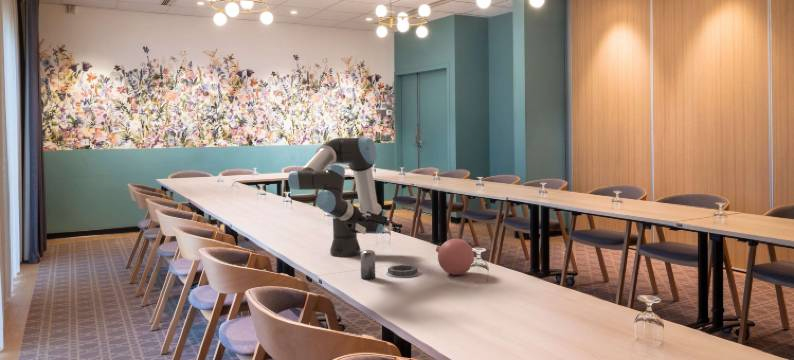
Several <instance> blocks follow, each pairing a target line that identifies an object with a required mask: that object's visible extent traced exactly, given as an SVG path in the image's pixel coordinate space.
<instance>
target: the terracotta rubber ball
mask: <svg viewBox="0 0 794 360" xmlns="http://www.w3.org/2000/svg"><path fill="white" fill-rule="evenodd" d="M472 249H473V247H472V245H470V244H469V242H467V241H466V240H464V239H460V238H451V239H448V240H446V241H445V242H444V243H442V244H441V245H437V246H436V249H435V251H436V253H437V261H438V264H439V266H440V268H441V269H442V270H443V271H444V272H446V274H449V275H452V276H460V275H465V273H467V272H469V270H470V269H471V268H472V267H471V264H472V263H473V264H474V262H475V253H474V250H473V251H471V250H472ZM470 267H471V268H470Z"/></svg>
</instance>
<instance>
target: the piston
mask: <svg viewBox="0 0 794 360" xmlns="http://www.w3.org/2000/svg"><path fill="white" fill-rule="evenodd" d="M360 279H361V280H364V281H370V280H371V279H372V280H375V279H376V252H375V251H374V250H371V249H367V250H366V249H365V250H361V253H360Z"/></svg>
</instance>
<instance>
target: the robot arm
mask: <svg viewBox="0 0 794 360" xmlns="http://www.w3.org/2000/svg"><path fill="white" fill-rule="evenodd" d="M376 162H377V148H376V143H375V142H374V140H373V139H372V138H369V137H364V136H363V137H362V136H361V137H337V138H333V139H331V140H329V141H326V142H324V143H323V144H322V145H320V146H319V147H318V148H317V149H316V151H315V154H314V155H313V156H312V157H311V158H310V159H309V161H308V162H307V163H306V164H305V165H304V166H303V167H302V168H301V169H300V170H297V169H296V170H292V171H290V172H289V173H288V177H287V182H288V187H289V188H290V190H295V191H296V190H297V191H312V190H313V191H317V190H319V191H320V192H318V194H317V196H316V199H315V204H316V206H317V208H319V210H321V211H323V212H324V213H327V214H329V215H330V216H332V231H333V233H332V235H333V236H332V237H333V238H332V242H331V245H330V249H329V254H330V256H332V257H344V258H345V257H346V258H347V257H355V256H358V255H361V252H362V249H361V246H360V242H359V240H358V238H357V237H358V235H357V234H363V235H366V234H371V235H372V234H374V235H375V234H383V233H384V232H385V229H387V230H388V231H392V229H393V223H391V222H389V221H388V217H387V211H386V209H382V205H381V204H379V203H378V198H377V192H376V186H375V181H374V176H373V175H374V174H373V167H374V164H375V163H376ZM339 164H348V167H349V168H348V169H349V170H351V171H352V173H353V177H354V182H355V188H356V193H357V197H358V203H359V204H358V205H359V207H358V206H356V205H354V204H352V203H350V202H349V201H347V200H346V199H344V198H343V192H344V187H345V186H344V185H345V179H346V178H345V173H346V170H345V168H344V167H343V166H342V165H339Z"/></svg>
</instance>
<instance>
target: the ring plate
mask: <svg viewBox="0 0 794 360" xmlns="http://www.w3.org/2000/svg"><path fill="white" fill-rule="evenodd" d="M386 275H387V276H388V277H391V278H398V279H399V278H413V277H417V276H418V275H420V272H419V270H418V267H416V266H415V265H414V264H413V265H411V264H396V265H391V266H389V267H388V268H387V272H386Z"/></svg>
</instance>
